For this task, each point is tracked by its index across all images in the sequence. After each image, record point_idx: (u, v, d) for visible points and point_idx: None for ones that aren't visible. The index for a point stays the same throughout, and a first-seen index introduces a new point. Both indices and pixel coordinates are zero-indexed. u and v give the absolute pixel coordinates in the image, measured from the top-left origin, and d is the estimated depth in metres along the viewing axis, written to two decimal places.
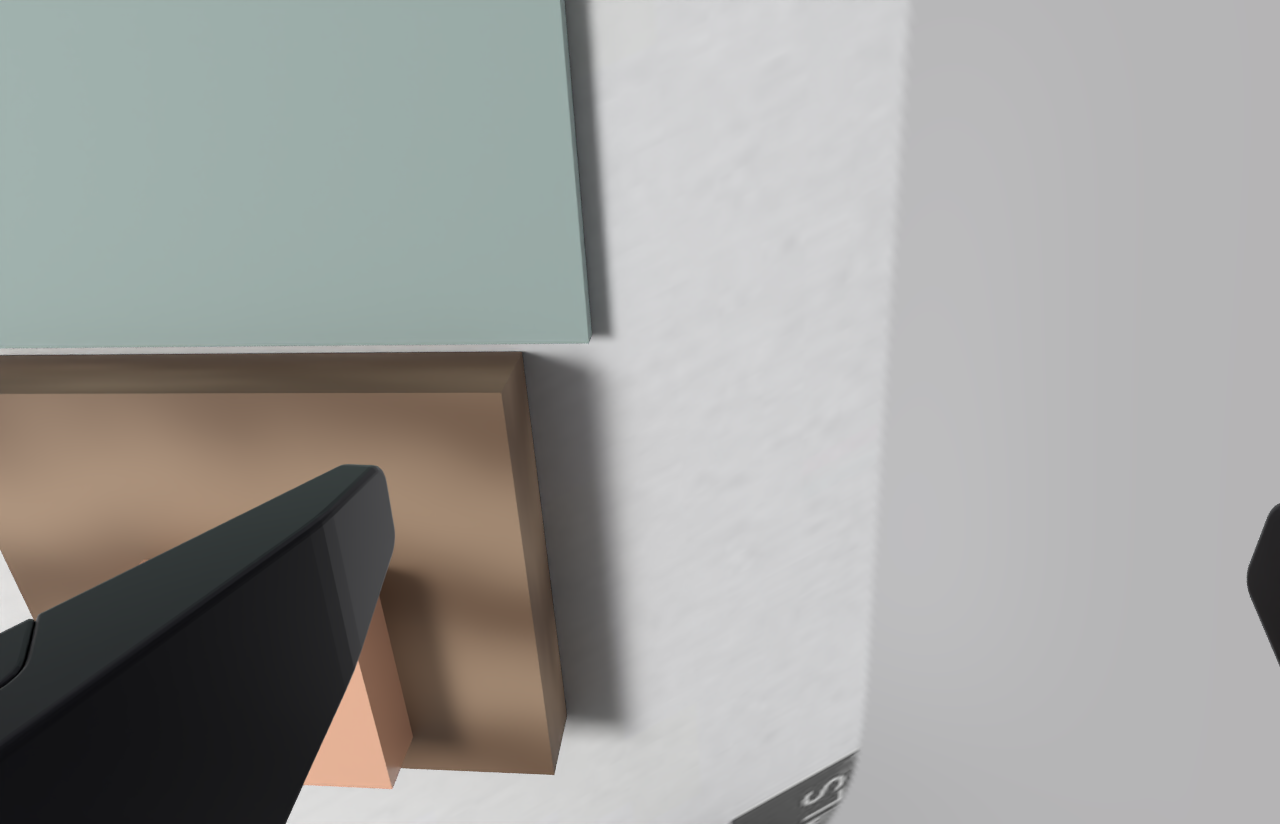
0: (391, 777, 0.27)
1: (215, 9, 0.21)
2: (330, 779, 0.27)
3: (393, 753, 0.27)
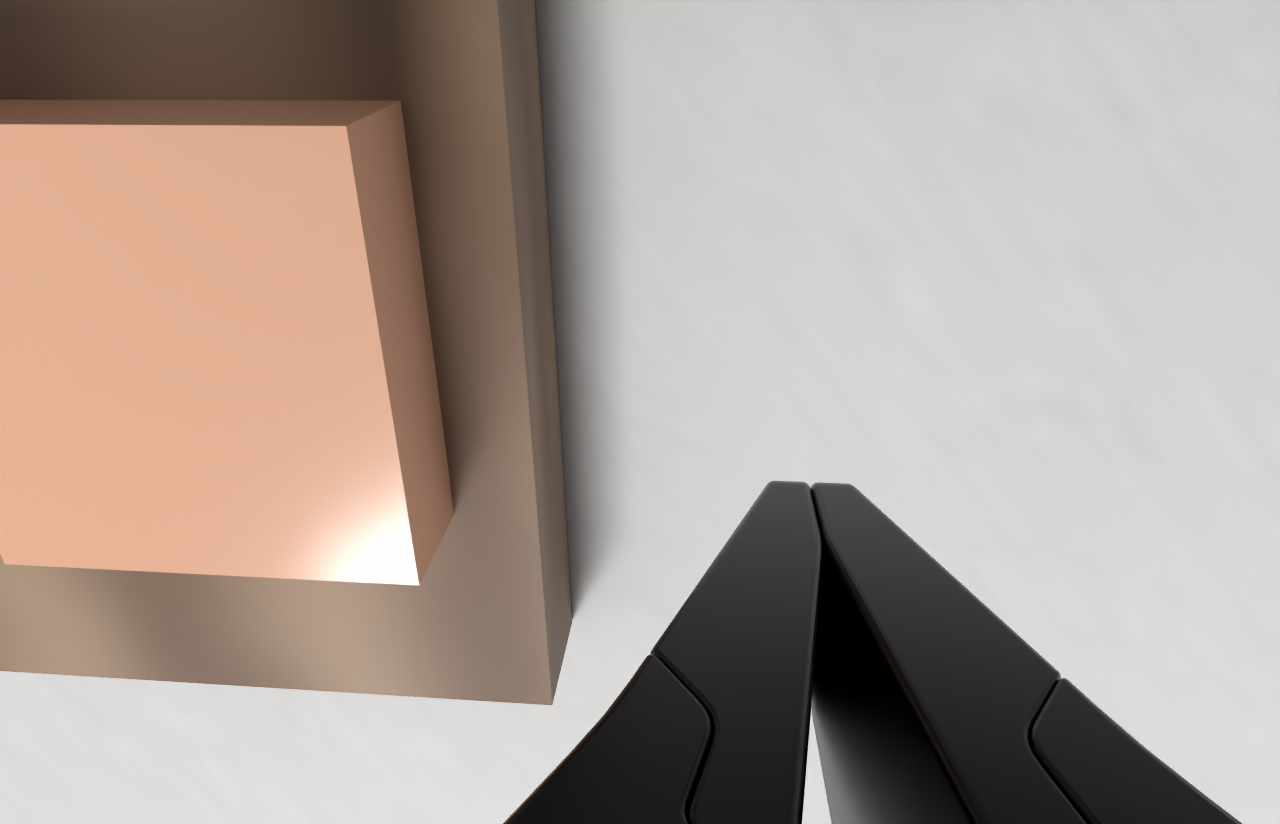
0: (320, 124, 0.11)
1: None
2: (346, 273, 0.12)
3: (297, 117, 0.11)
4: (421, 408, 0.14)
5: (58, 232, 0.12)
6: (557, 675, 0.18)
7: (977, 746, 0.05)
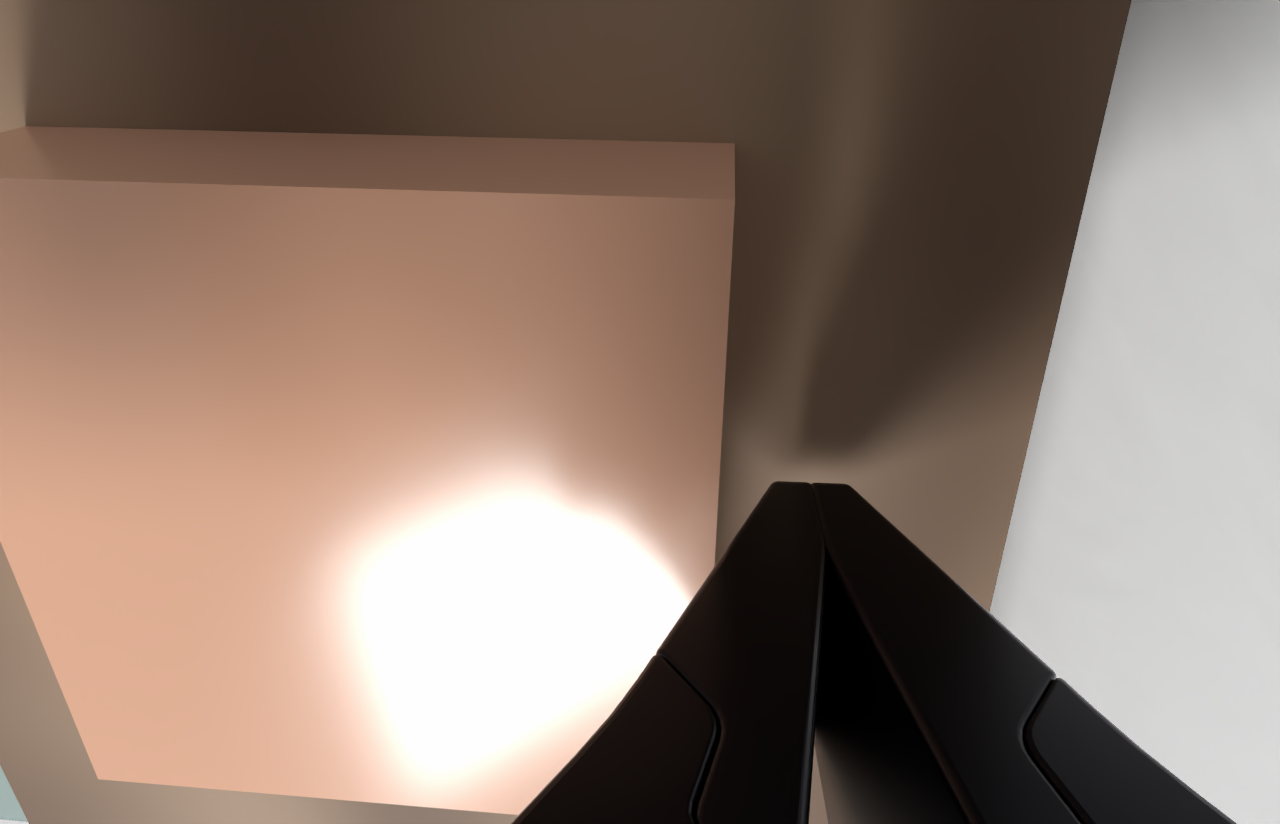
0: (684, 193, 0.07)
1: None
2: (683, 421, 0.07)
3: (624, 177, 0.07)
4: None
5: (228, 347, 0.07)
6: None
7: (971, 746, 0.05)
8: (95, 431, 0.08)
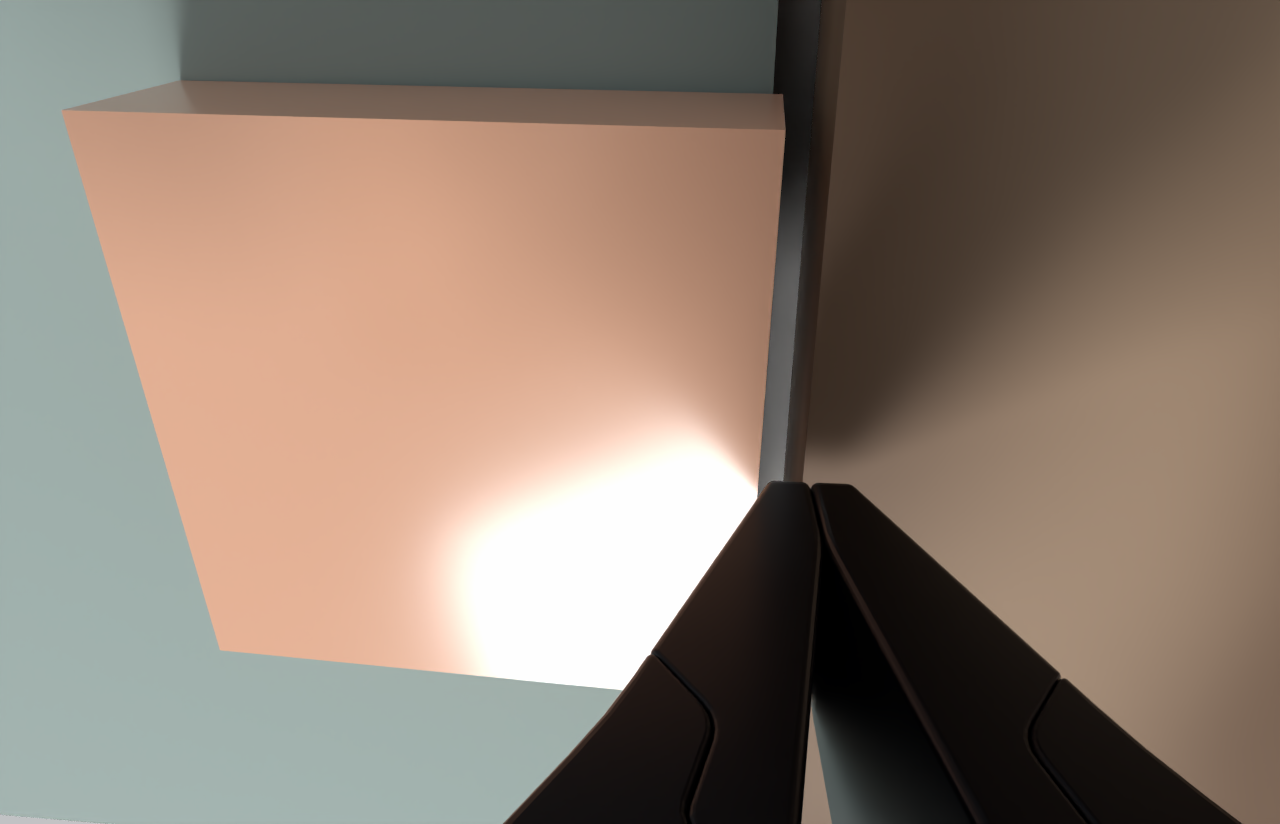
0: (744, 126, 0.08)
1: None
2: (737, 324, 0.09)
3: (693, 116, 0.09)
4: None
5: (359, 259, 0.09)
6: None
7: (977, 746, 0.05)
8: (244, 332, 0.10)
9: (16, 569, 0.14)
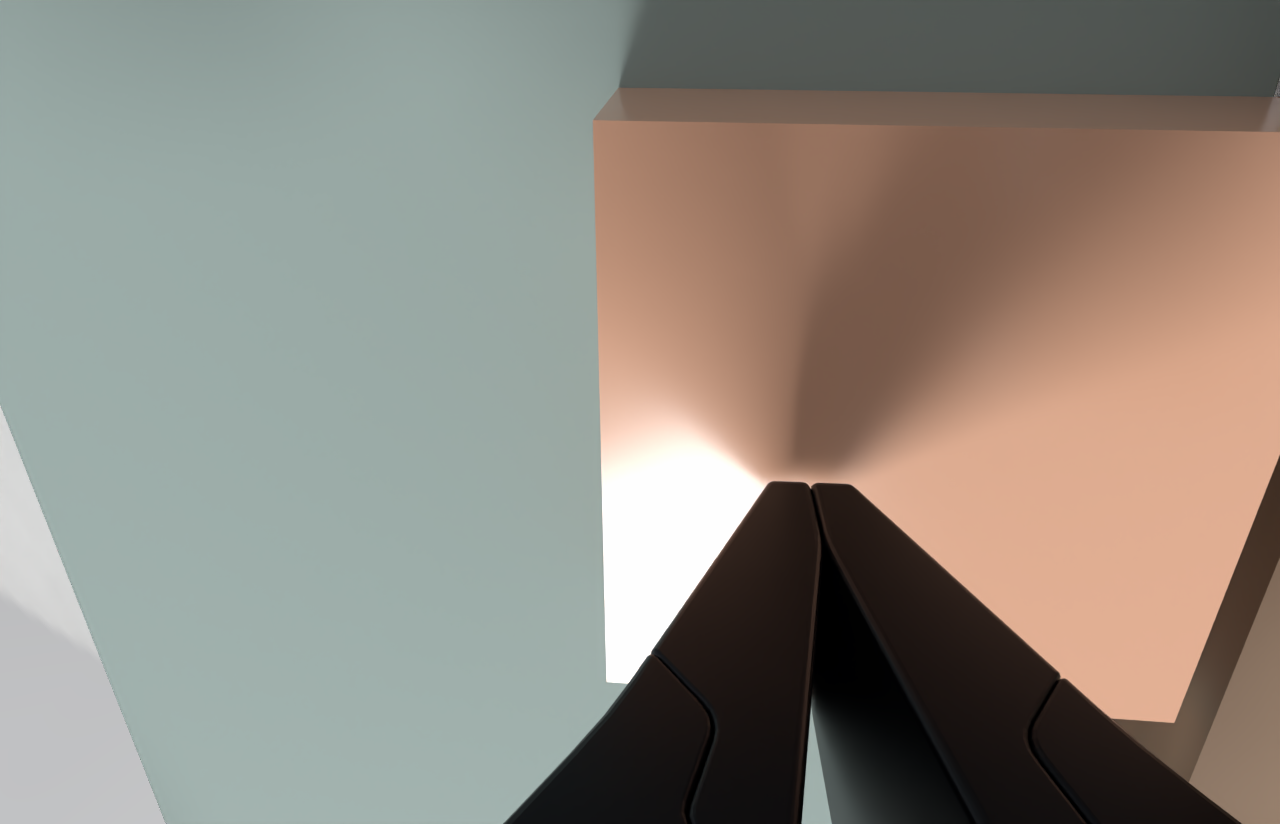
0: None
1: (496, 244, 0.11)
2: None
3: (1263, 120, 0.08)
4: None
5: (886, 273, 0.09)
6: None
7: (977, 746, 0.05)
8: (732, 351, 0.09)
9: (326, 593, 0.14)
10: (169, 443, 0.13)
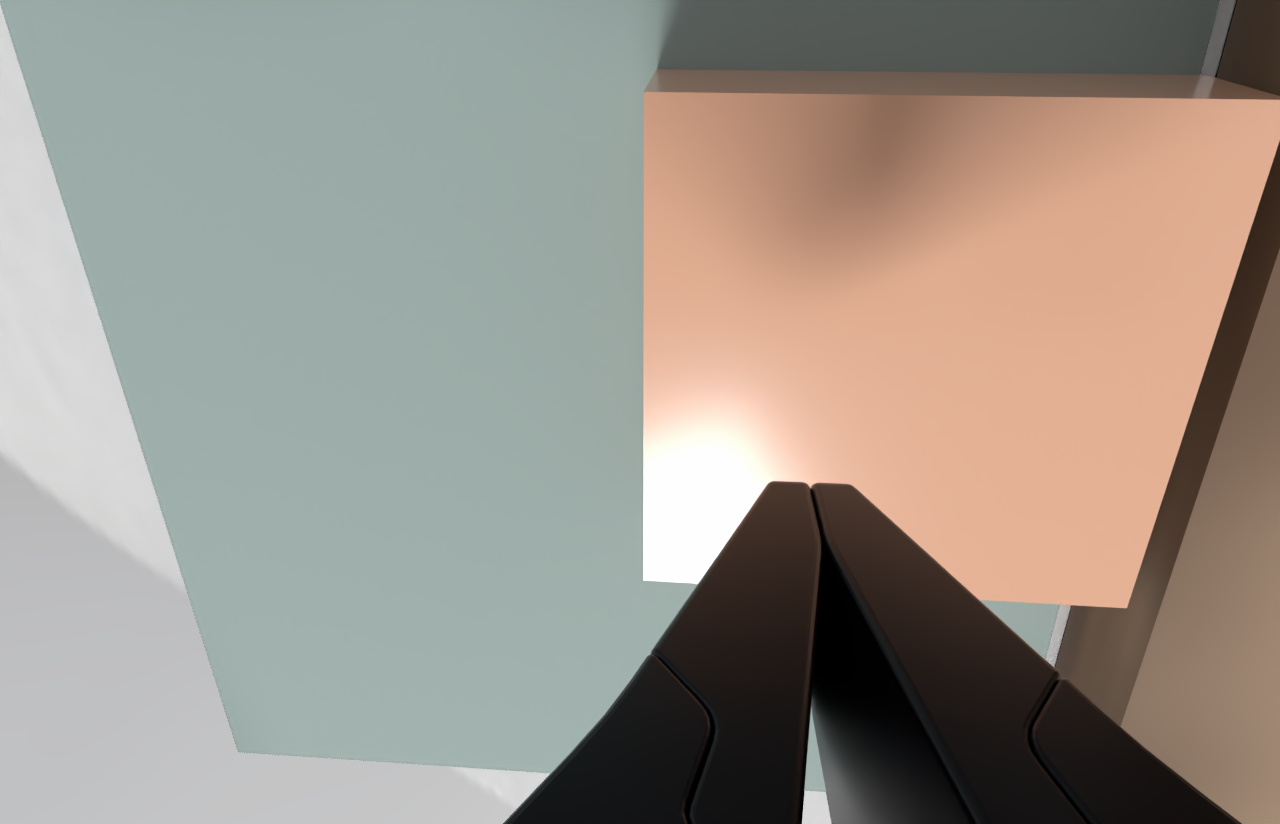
0: (1251, 97, 0.10)
1: (550, 204, 0.13)
2: (1209, 266, 0.10)
3: (1183, 90, 0.10)
4: None
5: (881, 216, 0.11)
6: None
7: (977, 746, 0.05)
8: (754, 285, 0.11)
9: (390, 519, 0.16)
10: (257, 384, 0.15)
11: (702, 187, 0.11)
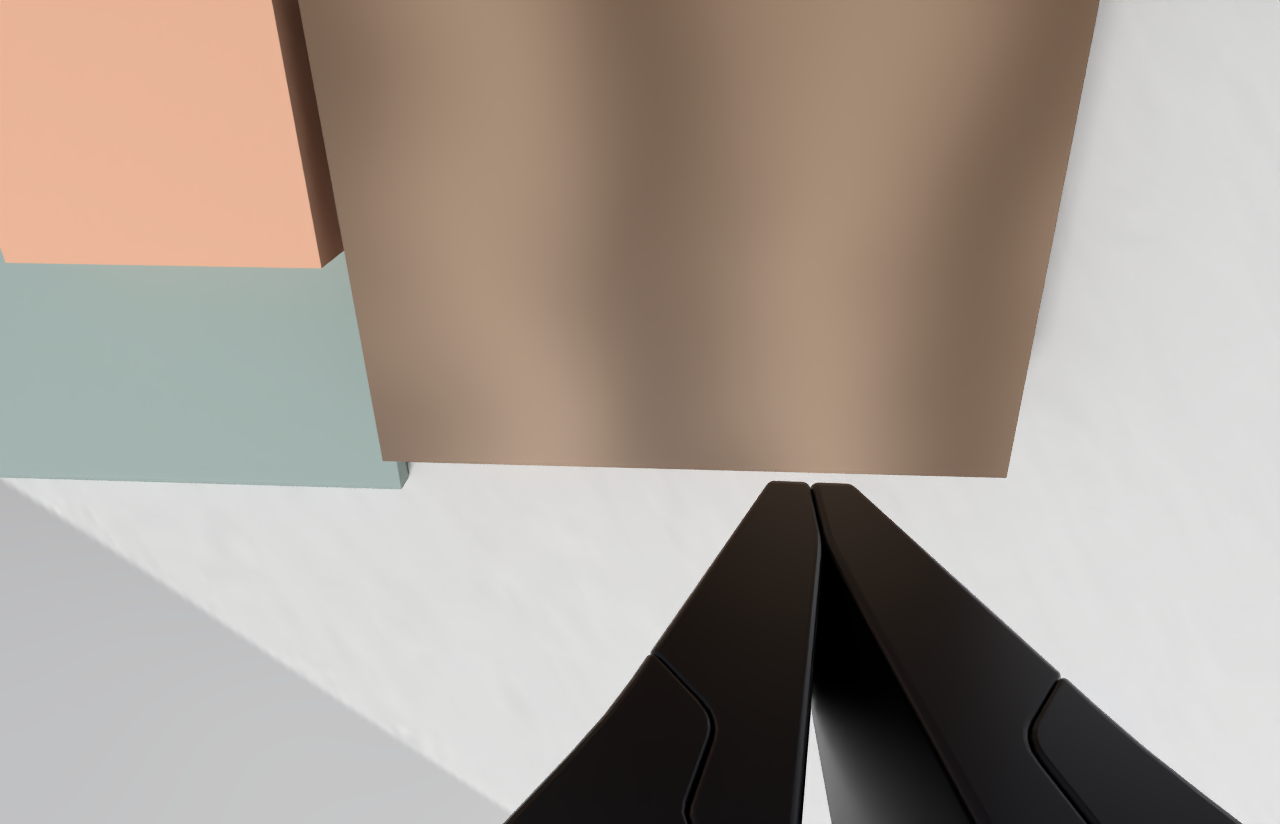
0: None
1: None
2: None
3: None
4: (321, 131, 0.18)
5: None
6: None
7: (977, 746, 0.05)
8: None
9: None
10: None
11: None
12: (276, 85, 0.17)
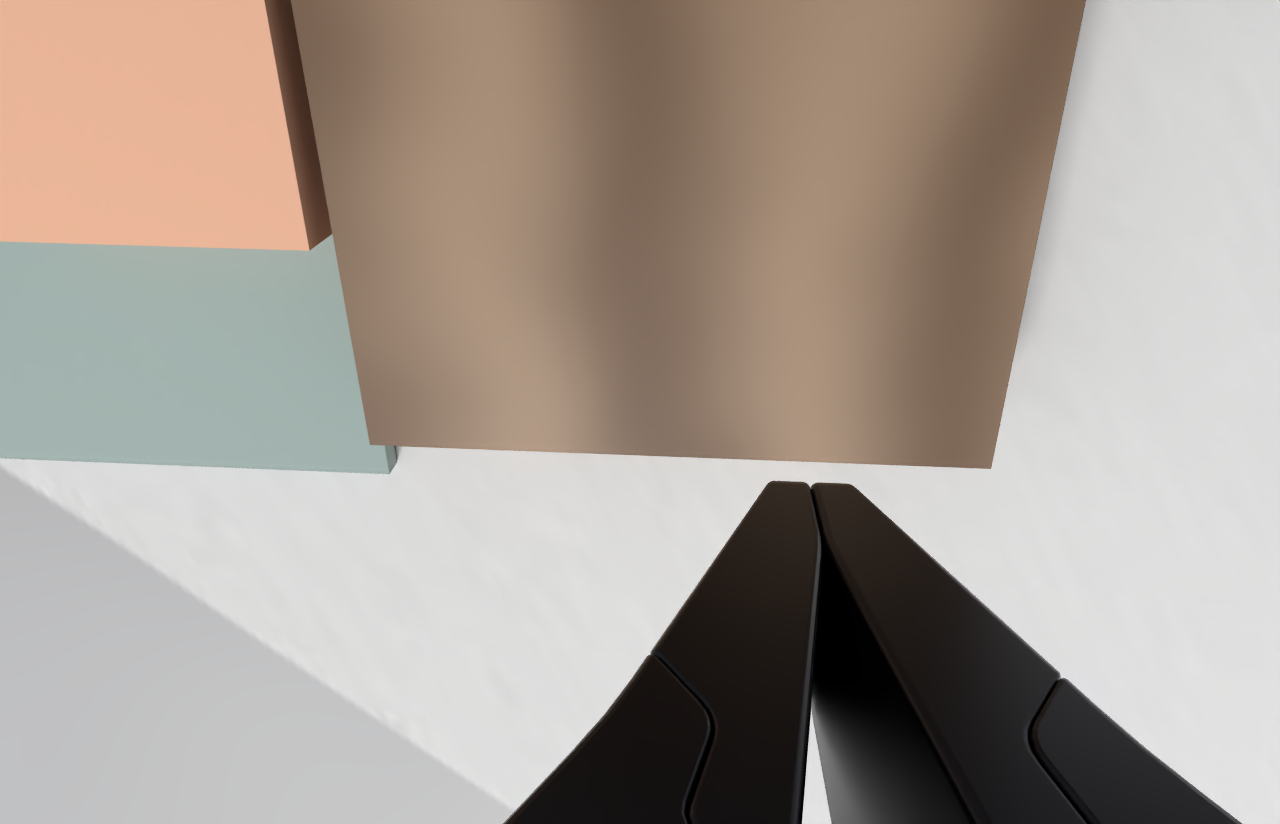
0: None
1: None
2: None
3: None
4: None
5: None
6: None
7: (977, 746, 0.05)
8: None
9: None
10: None
11: None
12: (265, 65, 0.17)
